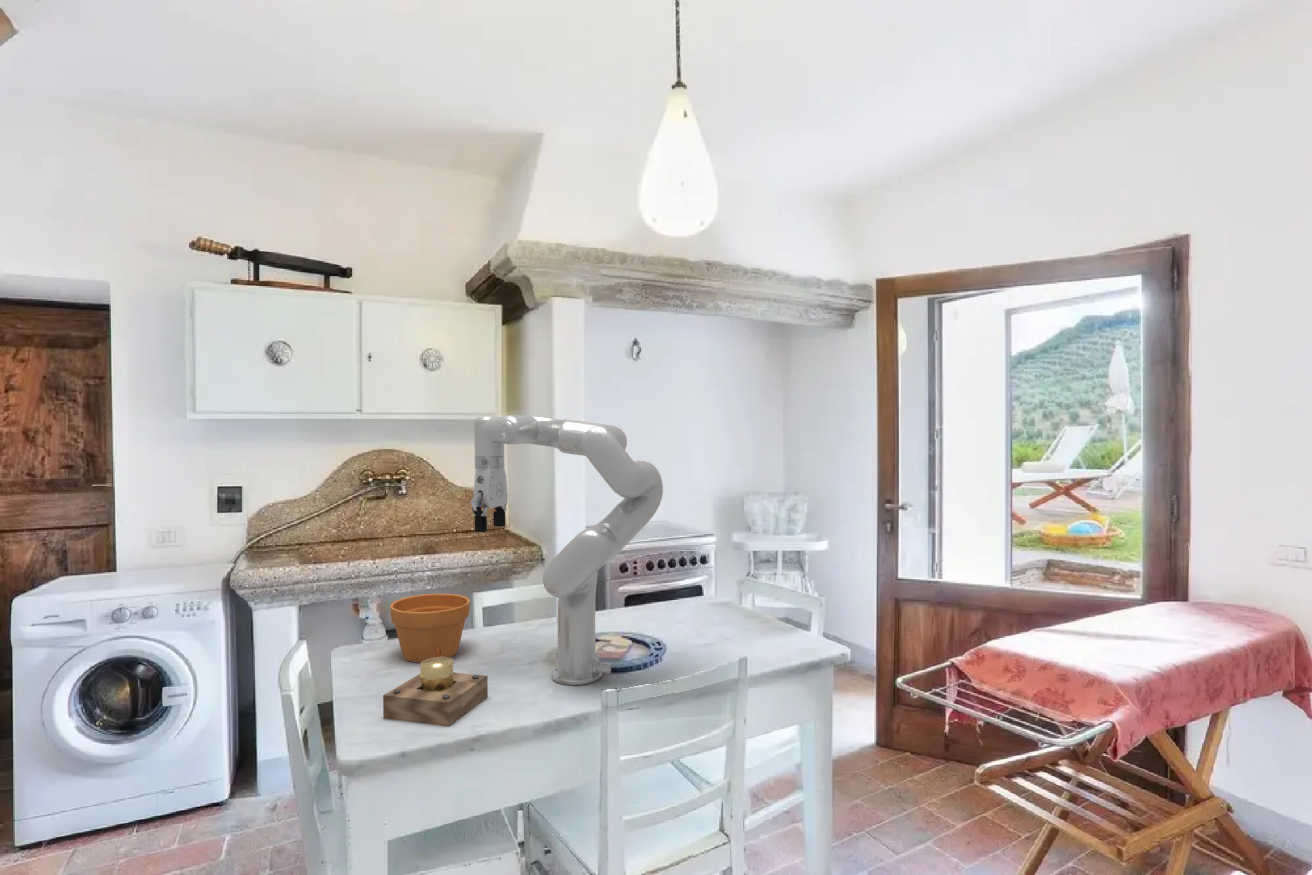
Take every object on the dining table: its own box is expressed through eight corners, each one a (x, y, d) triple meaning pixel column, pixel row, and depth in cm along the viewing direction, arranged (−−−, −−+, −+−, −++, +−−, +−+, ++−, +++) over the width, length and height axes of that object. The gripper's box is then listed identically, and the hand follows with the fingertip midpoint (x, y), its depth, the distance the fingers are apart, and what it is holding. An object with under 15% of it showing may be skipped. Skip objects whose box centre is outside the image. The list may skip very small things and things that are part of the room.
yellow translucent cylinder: (459, 702, 157) (459, 658, 157) (442, 715, 150) (441, 668, 150) (432, 699, 159) (432, 655, 158) (414, 711, 152) (413, 665, 152)
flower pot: (474, 640, 206) (473, 591, 205) (466, 664, 185) (465, 609, 185) (399, 645, 202) (398, 594, 202) (382, 669, 181) (382, 613, 181)
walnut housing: (487, 701, 160) (487, 673, 160) (449, 731, 144) (448, 700, 144) (427, 694, 164) (426, 667, 164) (383, 722, 149) (383, 692, 149)
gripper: (485, 465, 172) (486, 534, 172) (517, 461, 188) (518, 524, 189) (459, 465, 174) (459, 533, 174) (493, 461, 190) (493, 523, 191)
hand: (490, 528), depth 181 cm, fingers open, 9 cm apart
